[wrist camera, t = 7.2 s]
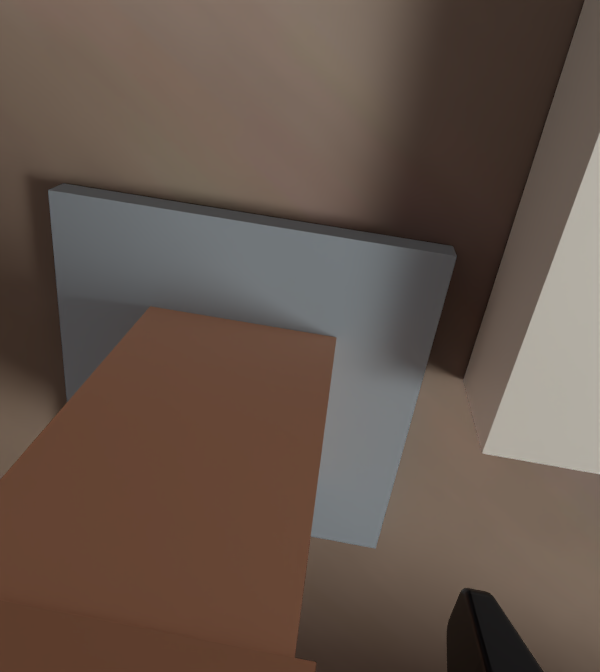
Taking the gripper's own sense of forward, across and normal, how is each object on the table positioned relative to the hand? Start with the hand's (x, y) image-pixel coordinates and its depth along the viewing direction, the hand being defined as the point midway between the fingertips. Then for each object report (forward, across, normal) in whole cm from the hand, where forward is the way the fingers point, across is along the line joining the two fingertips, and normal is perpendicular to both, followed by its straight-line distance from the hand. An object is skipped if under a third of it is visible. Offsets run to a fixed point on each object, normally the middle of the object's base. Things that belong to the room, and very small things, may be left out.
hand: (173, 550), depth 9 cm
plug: (+4, 0, 0) cm, 4 cm away
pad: (+5, 0, 0) cm, 5 cm away
